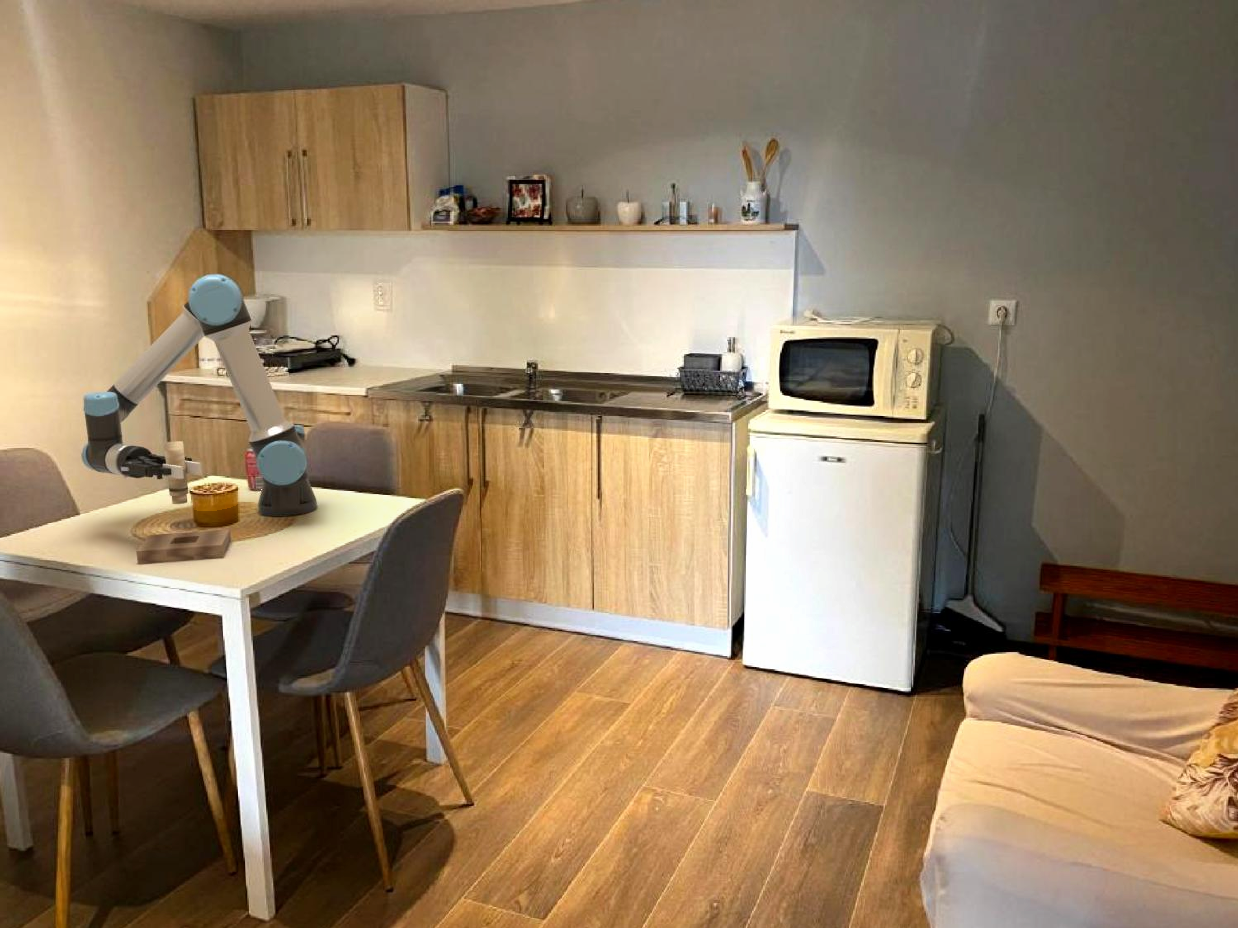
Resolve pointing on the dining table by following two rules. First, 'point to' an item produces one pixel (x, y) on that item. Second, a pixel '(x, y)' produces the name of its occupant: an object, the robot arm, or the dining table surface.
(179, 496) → the peg
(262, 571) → the dining table surface
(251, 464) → the soda can
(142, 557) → the board
